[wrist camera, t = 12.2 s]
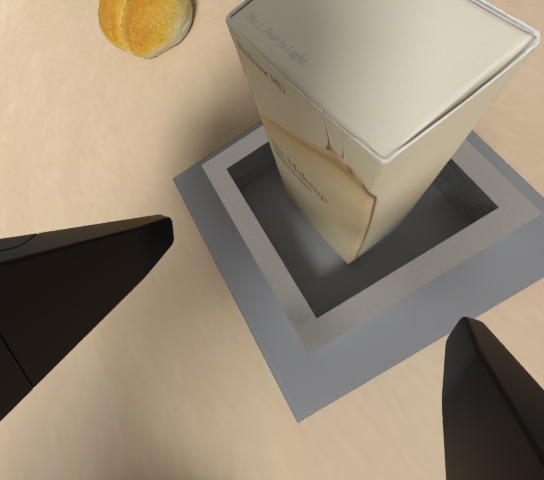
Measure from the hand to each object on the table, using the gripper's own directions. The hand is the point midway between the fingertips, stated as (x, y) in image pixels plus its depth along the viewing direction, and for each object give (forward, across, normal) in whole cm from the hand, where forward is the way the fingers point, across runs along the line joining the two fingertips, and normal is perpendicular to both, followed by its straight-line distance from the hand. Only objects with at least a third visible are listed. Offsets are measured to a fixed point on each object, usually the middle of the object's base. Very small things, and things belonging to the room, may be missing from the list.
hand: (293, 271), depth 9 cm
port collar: (+11, 0, +3) cm, 12 cm away
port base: (+11, 0, +3) cm, 12 cm away
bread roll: (+21, +23, -6) cm, 32 cm away
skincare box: (+11, 0, +2) cm, 11 cm away
